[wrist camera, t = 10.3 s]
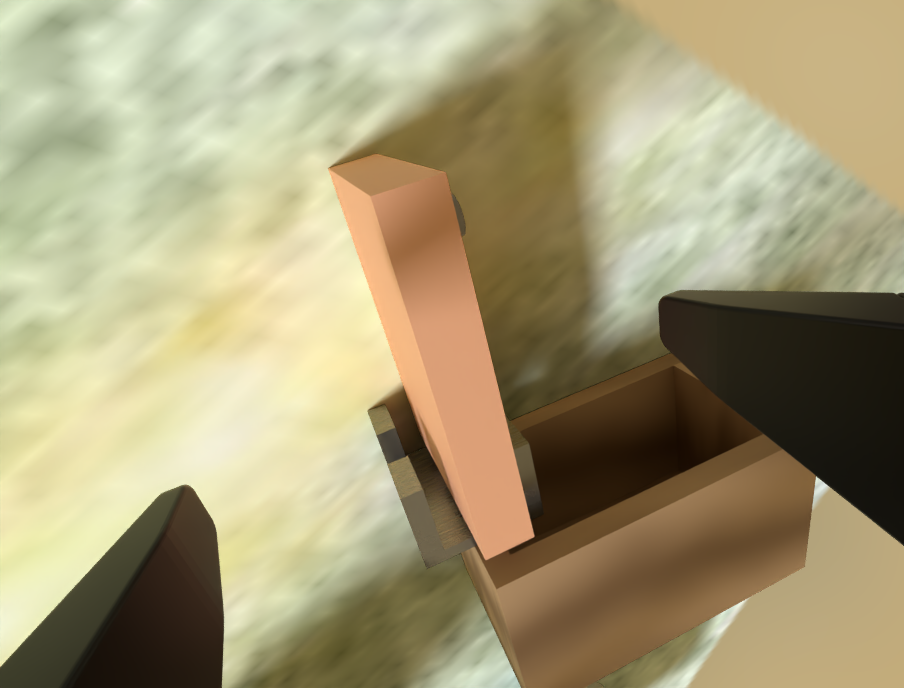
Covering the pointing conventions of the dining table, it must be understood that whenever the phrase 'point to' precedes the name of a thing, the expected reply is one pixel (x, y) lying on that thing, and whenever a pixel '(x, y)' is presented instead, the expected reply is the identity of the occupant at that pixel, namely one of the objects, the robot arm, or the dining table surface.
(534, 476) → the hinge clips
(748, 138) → the dining table surface
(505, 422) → the cabinet door
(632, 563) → the cabinet
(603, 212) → the dining table surface
